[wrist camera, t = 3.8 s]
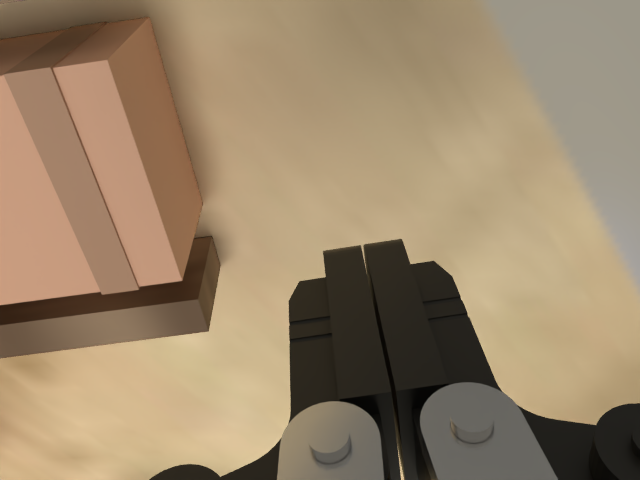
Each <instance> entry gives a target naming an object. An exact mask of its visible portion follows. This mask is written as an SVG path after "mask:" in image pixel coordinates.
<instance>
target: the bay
mask: <svg viewBox="0 0 640 480" xmlns="http://www.w3.org/2000/svg"><path fill="white" fill-rule="evenodd" d="M17 1H23V0H0V4H4V3H10V2H17ZM219 271H220V263H219V259H218V256H217V252H216V249H215V245H214V242H213V238H212V236H211V237H203V238H196V239H193V243H192V246H191V250H190V254H189V258H188V261H187V265H186V269H185V273H184V276H183V280H182V281H178V282H170V283H163V284H155V285H148V286H140V288H139V290H134V291H127V292H119V293H111V294H104V295H102V294H101V292H95V293H88V294H80V295H73V296H65V297H58V298H50V299H43V300H35V301H28V302H20V303H13V304H5V305H0V358H6V357H14V356H22V355H29V354H37V353H45V352H53V351H60V350H68V349H76V348H84V347H91V346H99V345H107V344H114V343H122V342H130V341H138V340H145V339H153V338H161V337H169V336H176V335H184V334H192V333H199V332H207V331H209V326H210V321H211V315H212V310H213V304H214V299H215V293H216V288H217V282H218V277H219Z"/></svg>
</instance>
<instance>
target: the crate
mask: <svg viewBox="0 0 640 480" xmlns="http://www.w3.org/2000/svg"><path fill="white" fill-rule="evenodd" d="M202 205H203V202H202V199H201V195H200V192H199V188H198V185H197V182H196V178H195V175H194V171H193V168H192V164H191V161H190V157H189V154H188V150H187V147H186V143H185V140H184V136H183V133H182V129H181V126H180V122H179V119H178V115H177V112H176V108H175V105H174V101H173V98H172V94H171V91H170V87H169V84H168V80H167V77H166V73H165V70H164V66H163V63H162V59H161V56H160V53H159V49H158V46H157V42H156V39H155V35H154V32H153V28H152V25H151V21H150V18H149V17H145V18H139V19H132V20H126V21H119V22H112V23H107V22H101V23H95V24H88V25H81V26H75V27H70V28H68V29H66V30H60V31H53V32H46V33H40V34H33V35H27V36H20V37H14V38H7V39H0V305H5V304H13V303H20V302H28V301H35V300H43V299H50V298H58V297H65V296H73V295H80V294H88V293H95V292H101V294H102V295H104V294H111V293H119V292H127V291H134V290H139V288H140V286H148V285H155V284H163V283H170V282H178V281H182V280H183V276H184V273H185V269H186V265H187V261H188V258H189V254H190V250H191V246H192V243H193V239H194V235H195V231H196V228H197V224H198V220H199V217H200V213H201V209H202Z"/></svg>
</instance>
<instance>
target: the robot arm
mask: <svg viewBox="0 0 640 480" xmlns="http://www.w3.org/2000/svg"><path fill="white" fill-rule="evenodd" d="M323 255H324V264H325V273H326V277H325V278H318V279H312V280H305V281H299V283H298V285H297V287H296V289H295V291H294V292H293V294H292V296H291V298H290V300H289V323H290V326H289V335H290V390H291V414H290V420H289V424H288V426H287V427H286V429H285V431H284V433H283V435H282V438H281V439H280V441H279V442H278V443H277V444H276V445H275V446H274V447H273V448H272V449H271V450H270V451H269V452H268V453H267V454H265V455H264V456H262V457H261V458H259V459H258V460H256V461H254V462H252V463H250V464H248V465H246V466H244V467H241V468H239V469H237V470H235V471H233V472H230V473H228V474H226V475H224V476H222V477H220V476H219V475H218V474H217V473H215V472H214V471H213V470H211V469H209V468H207V467H204V466H200V465H193V464H187V465H179V466H175V467H172V468H169V469H167V470H164V471H162V472H160V473H159V474H157V475H155V476H154V477H152V478H151V479H150V480H401V476H400V467H399V457H398V450H399V455H400V460H401V465H402V470H403V475H404V480H640V403H636V404H626V405H621V406H618V407H615V408H613V409H611V410H609V411H608V412H606V413H605V414H604V415H603V416H602V417H601V418H600V420H599V421H598V423H597V425H590V424H583V423H575V422H568V421H561V420H554V419H549V418H545V417H542V416H538V415H535V414H533V413H531V412H528V411H526V410H524V409H523V408H521V407H519V406H518V405H517V404H516V403H515V402H514V401H513V400H512V399H511V398H510V397H508V396H507V395H506V394H504V393H503V392H502V391H501V389H500V388H499V386H498V385H497V383H496V381H495V378H494V376H493V374H492V371H491V369H490V366H489V364H488V362H487V359H486V357H485V354H484V352H483V350H482V347H481V345H480V342H479V340H478V338H477V335H476V333H475V330H474V328H473V325H472V323H471V321H470V318H469V317H468V315H467V311H466V309H465V306H464V304H463V301H462V300H461V298H460V294H459V292H458V289H457V287H456V285H455V282H454V280H453V277H452V276H451V275H450V274H449V273H448V272H446V271H445V270H444V269H443V268H442V267H440V266H439V265H438V264H437V263H436V262H435V261H430V262H423V263H417V264H410V262H409V259H408V256H407V253H406V250H405V247H404V244H403V241H402V239H398V240H391V241H385V242H378V243H371V244H365V245H364V255H365V263H366V268H365V263H364V259H363V254H362V249H361V245H359V246H353V247H346V248H340V249H333V250H326V251H323ZM366 271H367V273H366ZM397 446H398V448H397Z"/></svg>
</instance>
